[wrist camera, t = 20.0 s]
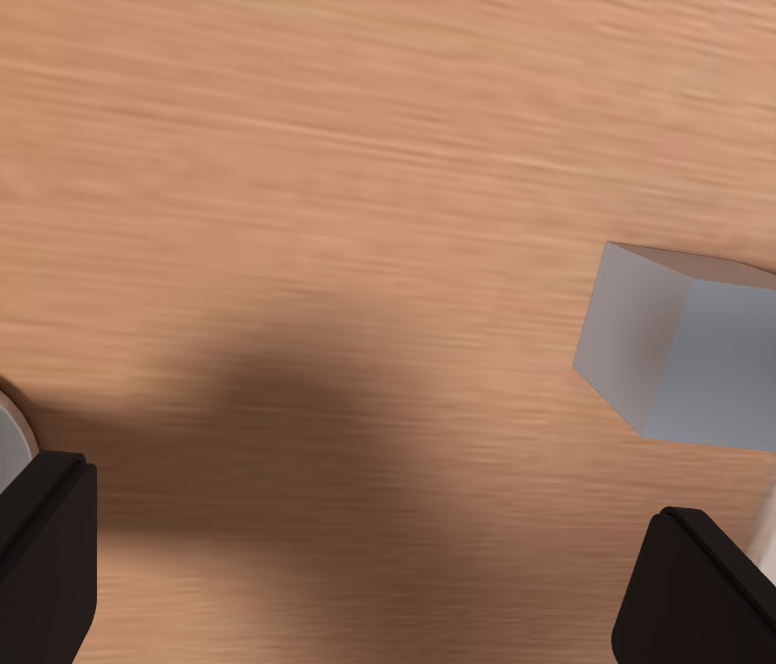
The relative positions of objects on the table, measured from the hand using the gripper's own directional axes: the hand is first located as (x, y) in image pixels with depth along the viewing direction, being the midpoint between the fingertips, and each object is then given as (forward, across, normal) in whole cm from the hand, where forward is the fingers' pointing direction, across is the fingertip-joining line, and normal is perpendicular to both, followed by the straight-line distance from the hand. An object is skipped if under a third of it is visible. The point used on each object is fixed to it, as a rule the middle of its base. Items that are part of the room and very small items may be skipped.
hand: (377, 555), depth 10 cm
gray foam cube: (+24, -18, +1) cm, 30 cm away
